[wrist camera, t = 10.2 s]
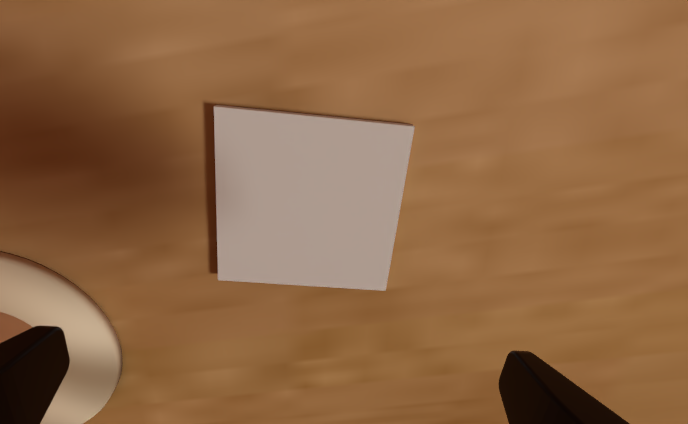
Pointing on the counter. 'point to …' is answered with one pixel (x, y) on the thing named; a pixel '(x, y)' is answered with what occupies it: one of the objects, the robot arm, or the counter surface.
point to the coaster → (80, 333)
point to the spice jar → (11, 326)
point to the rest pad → (307, 197)
